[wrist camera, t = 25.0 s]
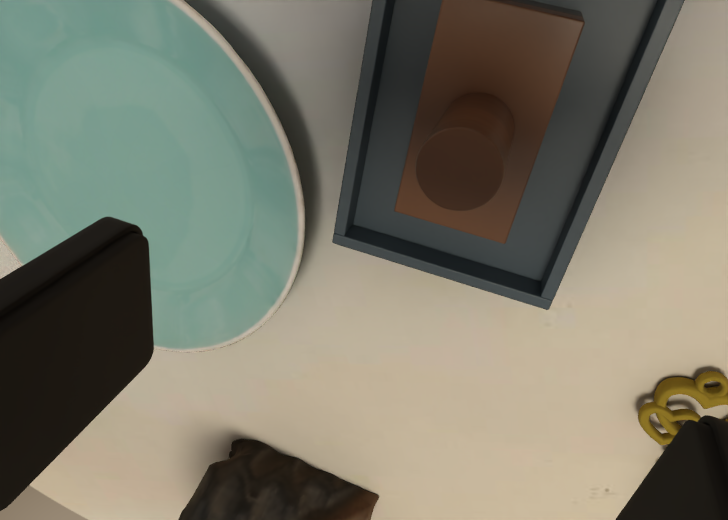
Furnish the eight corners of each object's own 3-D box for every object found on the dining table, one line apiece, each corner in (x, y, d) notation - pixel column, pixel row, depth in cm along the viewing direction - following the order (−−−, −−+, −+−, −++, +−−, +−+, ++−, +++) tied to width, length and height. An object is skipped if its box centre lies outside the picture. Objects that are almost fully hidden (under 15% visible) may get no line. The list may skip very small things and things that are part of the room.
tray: (402, -101, 22) (389, -105, 21) (690, -43, 21) (703, -42, 19) (344, 226, 30) (331, 243, 29) (549, 288, 29) (548, 310, 27)
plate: (46, 302, 41) (15, 324, 38) (-72, -42, 30) (-126, -42, 28) (331, 354, 35) (315, 384, 33) (311, -48, 24) (284, -47, 22)
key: (688, 548, 32) (597, 523, 33) (684, 529, 33) (596, 505, 34) (772, 392, 26) (659, 368, 28) (764, 376, 28) (655, 353, 29)
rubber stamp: (459, -17, 23) (414, -1, 16) (582, 11, 22) (593, 41, 15) (411, 183, 27) (359, 265, 20) (510, 212, 27) (493, 308, 20)
